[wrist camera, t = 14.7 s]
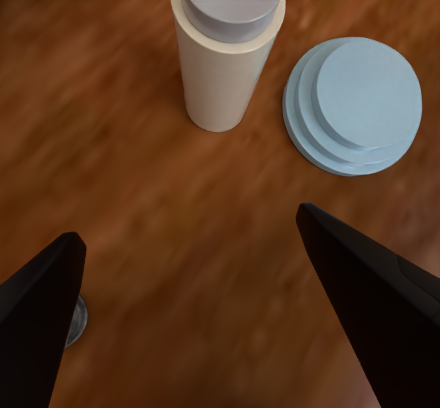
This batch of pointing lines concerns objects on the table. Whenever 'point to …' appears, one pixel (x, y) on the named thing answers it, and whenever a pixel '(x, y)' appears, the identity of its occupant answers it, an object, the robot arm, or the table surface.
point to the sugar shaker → (223, 55)
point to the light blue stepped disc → (352, 106)
